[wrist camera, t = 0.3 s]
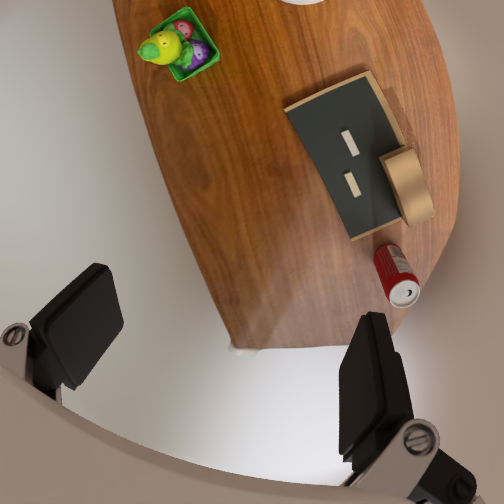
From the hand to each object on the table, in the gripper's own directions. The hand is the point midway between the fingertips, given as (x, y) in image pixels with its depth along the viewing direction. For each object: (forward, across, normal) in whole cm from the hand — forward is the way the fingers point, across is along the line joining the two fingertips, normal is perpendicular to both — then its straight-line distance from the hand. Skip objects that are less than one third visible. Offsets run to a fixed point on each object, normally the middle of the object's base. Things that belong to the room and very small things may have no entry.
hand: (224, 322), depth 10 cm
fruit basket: (+37, +17, -18) cm, 44 cm away
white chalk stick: (+36, -9, -4) cm, 37 cm away
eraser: (+36, -18, 0) cm, 40 cm away
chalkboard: (+37, -11, -2) cm, 38 cm away
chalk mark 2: (+36, -10, +2) cm, 37 cm away
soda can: (+37, -20, +14) cm, 44 cm away
